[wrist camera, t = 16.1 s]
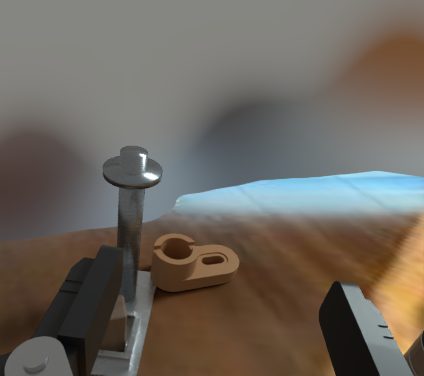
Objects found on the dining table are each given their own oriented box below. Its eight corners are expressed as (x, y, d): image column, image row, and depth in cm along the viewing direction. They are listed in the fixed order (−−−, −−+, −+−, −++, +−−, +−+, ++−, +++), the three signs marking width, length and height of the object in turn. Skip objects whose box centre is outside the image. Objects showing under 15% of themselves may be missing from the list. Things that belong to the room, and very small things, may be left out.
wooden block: (95, 333, 48) (94, 297, 44) (121, 327, 50) (123, 293, 46) (96, 357, 45) (96, 322, 41) (125, 350, 47) (127, 316, 43)
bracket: (155, 295, 56) (160, 267, 53) (146, 262, 63) (149, 235, 59) (242, 280, 64) (251, 254, 61) (226, 252, 70) (233, 228, 67)
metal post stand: (158, 274, 61) (175, 142, 47) (135, 380, 44) (152, 221, 30) (106, 267, 61) (108, 131, 47) (62, 372, 43) (45, 205, 29)
